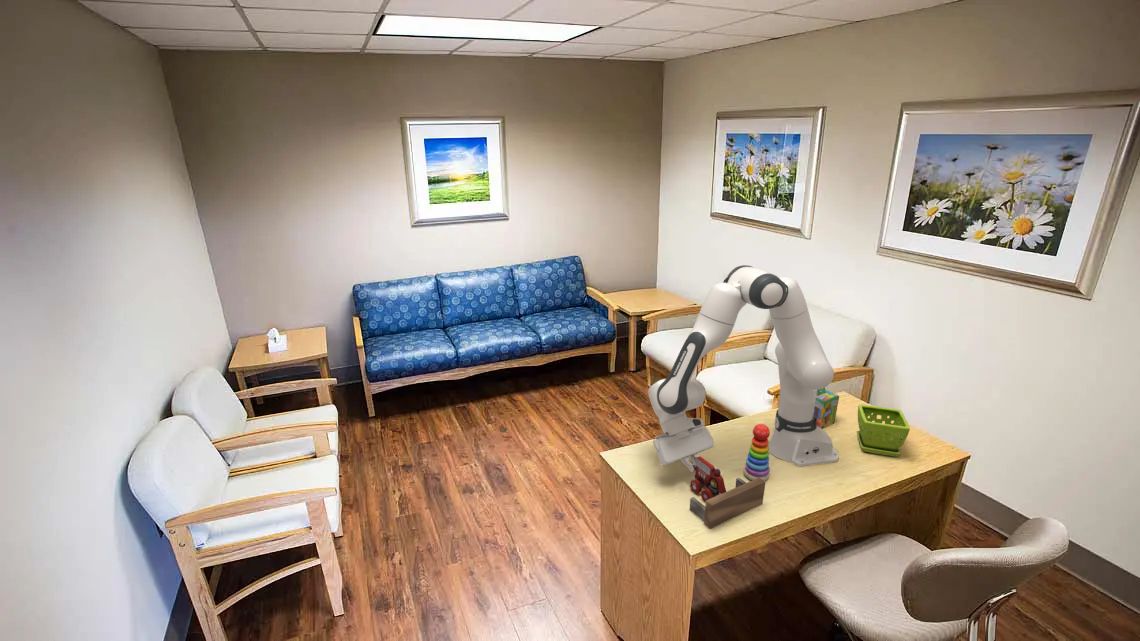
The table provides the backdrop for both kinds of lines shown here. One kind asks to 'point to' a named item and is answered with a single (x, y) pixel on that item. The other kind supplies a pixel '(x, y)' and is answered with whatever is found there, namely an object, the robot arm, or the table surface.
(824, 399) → the chalk box
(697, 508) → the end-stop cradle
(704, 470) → the toy fire truck
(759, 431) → the stacking toy
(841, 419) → the table surface
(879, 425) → the flower pot
